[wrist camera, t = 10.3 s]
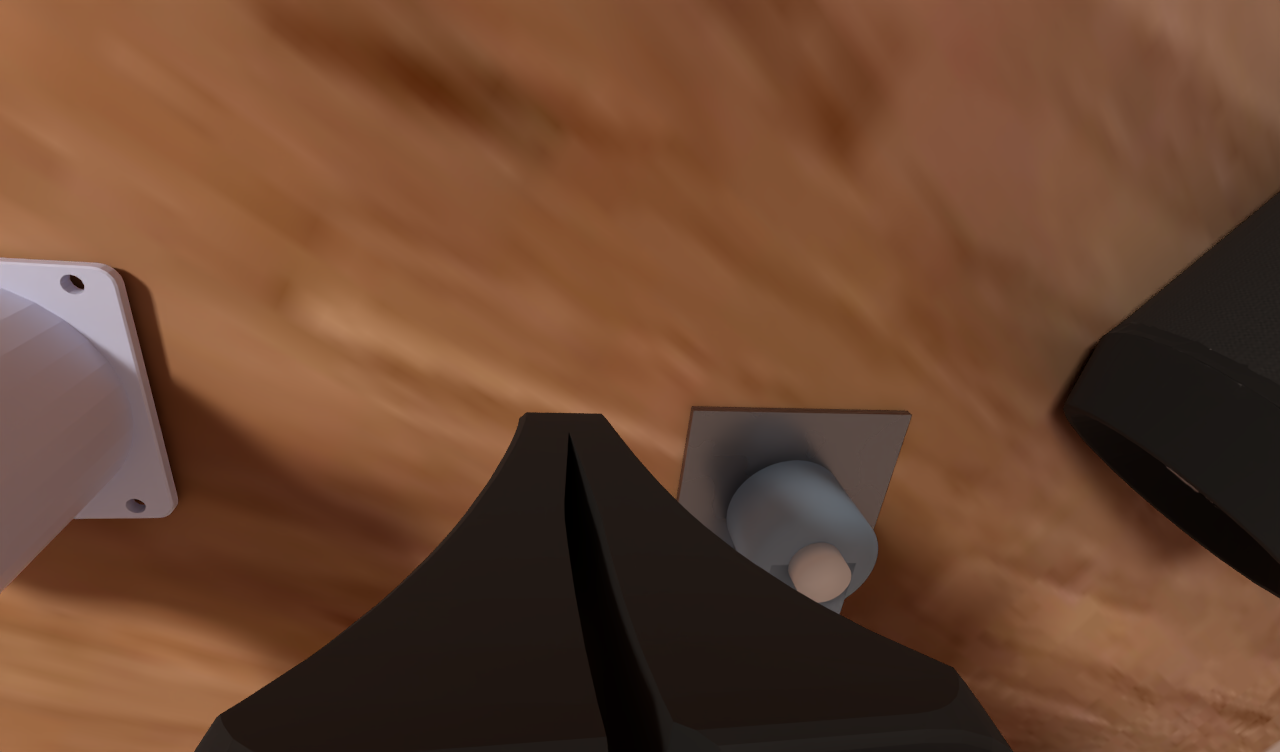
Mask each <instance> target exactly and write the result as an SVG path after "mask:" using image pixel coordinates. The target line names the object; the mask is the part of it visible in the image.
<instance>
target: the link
mask: <svg viewBox="0 0 1280 752" xmlns="http://www.w3.org/2000/svg"><path fill="white" fill-rule="evenodd" d="M726 520H727V528H728V531H729V534H730V536H731V539H732V541H733V543H734V546H735V548H736V551H737V552H739V553H740V554H742V555H743V556H745V557H746V558H747V559H749V560H750V561H752V562H753V563H754V564H756V565H757V566H759V567H761V568H762V569H764V570H765V571H767V572H768V573H770V574H771V575H773V576H774V577H776V578H777V579H779V580H781V581H782V582H784V583H785V584H787V585H788V586H790V587H791V588H793V589H795V590H796V591H798V592H800V593H802V594H803V595H805V596H807V597H809V598H810V599H812V600H814V601H815V602H817V603H819V604H821V605H823V606H824V607H826V608H828V609H830V610H832V611H834V612H836V613H838V614H840V611H841V608H842V605H843V602H844V599H845V598H847V597H848V596H849V595H851V594H852V593H853V592H855V591H856V590H857V589H858V588H859V587H860V586H861V585H862V584H863V583H864V582H865V580H866V579H867V578H868V576H869V575H870V573H871V571H872V570H873V567H874V565H875V563H876V559H877V555H878V542H877V537H876V535H875V533H874V531H873V529H872V528H871V526H870V525H869V523H868V522H867V521H866V519H865V518H864V516H863V515H862V514H861V512H860V511H859V510H858V508H857V507H856V505H855V504H854V503H853V501H852V500H851V498H850V497H849V496H848V494H847V493H846V491H845V490H844V489H843V487H842V486H841V485H840V483H839V482H838V480H837V479H836V478H835V476H834V475H833V474H832V473H831V472H830V471H829V470H827V469H826V468H825V467H823V466H821V465H819V464H816V463H813V462H809V461H802V460H792V461H784V462H780V463H776V464H773V465H770V466H768V467H765V468H764V469H762V470H760V471H758V472H756V473H755V474H753V475H752V476H751V477H749V478H748V479H747V480H746V481H745V482H744V483H743V484H742V485H741V486H740V487H739V488H738V490H737V491H736V492H735V494H734V496H733V497H732V499H731V501H730V504H729V507H728V510H727V517H726Z"/></svg>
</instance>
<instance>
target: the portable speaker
mask: <svg viewBox="0 0 1280 752" xmlns="http://www.w3.org/2000/svg"><path fill="white" fill-rule="evenodd" d="M1063 410H1064V413H1065V416H1066V418H1067V420H1068V421H1069V423H1070V424H1071V425H1072V426H1073V428H1074V429H1075V430H1076V432H1077V433H1078V434H1079V435H1080V437H1081V438H1082V439H1083V440H1084V441H1085V443H1086V444H1087V445H1088V446H1089V447H1090V448H1091V449H1092V450H1093V451H1094V452H1095V453H1096V454H1097V455H1098V456H1099V457H1100V458H1101V459H1102V460H1103V461H1104V462H1105V463H1106V464H1107V465H1108V466H1109V467H1110V468H1111V469H1112V470H1113V471H1114V472H1115V473H1116V474H1117V475H1118V476H1120V477H1121V478H1122V479H1123V480H1124V481H1125V482H1126V483H1127V484H1128V485H1129V486H1130V487H1131V488H1133V489H1134V490H1135V491H1136V492H1137V493H1138V494H1139V495H1140V496H1142V497H1143V498H1144V499H1145V500H1146V501H1147V502H1149V503H1150V504H1151V505H1152V506H1153V507H1154V508H1156V509H1157V510H1158V511H1159V512H1160V513H1162V514H1163V515H1164V516H1165V517H1167V518H1168V519H1169V520H1170V521H1171V522H1173V523H1174V524H1175V525H1176V526H1178V527H1179V528H1180V529H1181V530H1183V531H1184V532H1185V533H1186V534H1187V535H1189V536H1190V537H1191V538H1193V539H1194V540H1195V541H1197V542H1198V543H1199V544H1201V545H1202V546H1203V547H1205V548H1206V549H1207V550H1209V551H1210V552H1211V553H1212V554H1214V555H1215V556H1216V557H1218V558H1219V559H1220V560H1222V561H1223V562H1225V563H1226V564H1228V565H1229V566H1231V567H1232V568H1233V569H1235V570H1236V571H1238V572H1239V573H1241V574H1242V575H1244V576H1245V577H1246V578H1248V579H1249V580H1251V581H1252V582H1254V583H1255V584H1257V585H1259V586H1260V587H1262V588H1264V589H1265V590H1267V591H1269V592H1270V593H1272V594H1273V595H1275V596H1277V597H1278V598H1280V192H1279V193H1278V194H1277V195H1275V196H1274V197H1273V198H1272V199H1271V200H1269V201H1268V202H1267V203H1266V204H1265V205H1263V206H1262V207H1261V208H1260V209H1259V210H1257V211H1256V212H1255V213H1254V214H1253V215H1251V216H1250V217H1249V218H1248V219H1247V220H1245V221H1244V222H1243V223H1242V224H1241V225H1239V226H1238V227H1237V228H1236V229H1235V230H1233V231H1232V232H1231V233H1230V234H1229V235H1227V236H1226V237H1225V238H1224V239H1222V240H1221V241H1220V242H1219V243H1218V244H1216V245H1215V246H1214V247H1213V248H1212V249H1210V250H1209V251H1208V252H1207V253H1206V254H1204V255H1203V256H1202V257H1201V258H1200V259H1198V260H1197V261H1196V262H1195V263H1194V264H1192V265H1191V266H1190V267H1189V268H1188V269H1186V270H1185V271H1184V272H1183V273H1182V274H1180V275H1179V276H1178V277H1177V278H1176V279H1174V280H1173V281H1172V282H1171V283H1170V284H1168V285H1167V286H1166V287H1165V288H1163V289H1162V290H1161V291H1160V292H1159V293H1157V294H1156V295H1155V296H1154V297H1153V298H1151V299H1150V300H1149V301H1148V302H1147V303H1145V304H1144V305H1143V306H1142V307H1141V308H1139V309H1138V310H1137V311H1136V312H1135V313H1133V314H1132V315H1131V316H1130V317H1129V318H1127V319H1126V320H1125V321H1123V322H1122V323H1121V324H1119V325H1118V326H1117V327H1115V328H1114V329H1113V330H1111V331H1110V332H1109V333H1107V334H1106V335H1104V336H1103V337H1102V338H1101V339H1100V341H1099V343H1098V344H1097V346H1096V348H1095V350H1094V352H1093V353H1092V355H1091V357H1090V359H1089V361H1088V362H1087V364H1086V366H1085V368H1084V370H1083V371H1082V373H1081V375H1080V377H1079V378H1078V380H1077V382H1076V384H1075V386H1074V387H1073V389H1072V391H1071V393H1070V395H1069V396H1068V398H1067V400H1066V402H1065V404H1064V408H1063Z"/></svg>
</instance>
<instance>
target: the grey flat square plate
mask: <svg viewBox="0 0 1280 752" xmlns="http://www.w3.org/2000/svg"><path fill="white" fill-rule="evenodd" d="M911 416H912V415H911V414H910V413H909V412H908V411H890V410H841V409H793V408H745V407H696V406H692V407H691V414H690V420H689V426H688V432H687V438H686V444H685V450H684V457H683V463H682V469H681V475H680V481H679V487H678V494H677V501H678V502H679V503H680V504H681V505H682V506H683V507H684V508H685V509H686V510H687V511H688V512H689V513H691V514H692V515H693V516H694V517H695V518H696V519H697V520H699V521H700V522H701V523H702V524H703V525H704V526H706V527H707V528H708V529H709V530H711V531H712V532H713V533H714V534H716V535H717V536H718V537H719V538H721V539H722V540H723V541H725V542H726V543H727V544H728V545H730V546H731V547H732V548H733V549H735V550H736V548H735V546H734V543H733V541H732V539H731V536H730V534H729V531H728V528H727V520H726V517H727V510H728V507H729V504H730V501H731V499H732V497H733V496H734V494H735V492H736V491H737V490H738V488H739V487H740V486H741V485H742V484H743V483H744V482H745V481H746V480H747V479H748V478H749V477H751V476H752V475H753V474H755V473H756V472H758V471H760V470H762V469H764V468H765V467H768V466H770V465H773V464H776V463H780V462H784V461H792V460H802V461H809V462H813V463H816V464H819V465H821V466H823V467H825V468H826V469H827V470H829V471H830V472H831V473H832V474H833V475H834V476H835V478H836V479H837V480H838V482H839V483H840V485H841V486H842V487H843V489H844V490H845V491H846V493H847V494H848V496H849V497H850V498H851V500H852V501H853V503H854V504H855V505H856V507H857V508H858V510H859V511H860V512H861V514H862V515H863V516H864V518H865V519H866V521H867V522H868V523H869V525H870V526H871V528H872V529H873V530H874V527H875V524H876V521H877V518H878V515H879V512H880V509H881V506H882V503H883V500H884V497H885V494H886V491H887V488H888V485H889V482H890V479H891V476H892V473H893V470H894V467H895V464H896V461H897V458H898V455H899V452H900V449H901V446H902V443H903V440H904V437H905V434H906V431H907V428H908V425H909V422H910V419H911Z"/></svg>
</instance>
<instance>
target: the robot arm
mask: <svg viewBox="0 0 1280 752" xmlns="http://www.w3.org/2000/svg"><path fill="white" fill-rule="evenodd" d="M70 275H74V276H76V277H78V278H79V279H81V280H82V282H83V284H84V289H80V288H78V287H76V286H75V285H73V283H72V282H71V280H70ZM134 499H138V500H140V501H142V502H143V503H144V504H145V505H142V504H138V503H137V502H135V501H134ZM177 505H178V496H177V492H176V488H175V484H174V480H173V476H172V472H171V468H170V464H169V460H168V456H167V452H166V448H165V444H164V440H163V436H162V432H161V428H160V424H159V420H158V416H157V412H156V408H155V404H154V400H153V396H152V392H151V388H150V384H149V380H148V376H147V372H146V368H145V364H144V360H143V356H142V352H141V348H140V344H139V340H138V336H137V332H136V328H135V324H134V320H133V316H132V312H131V308H130V304H129V300H128V296H127V292H126V288H125V284H124V281H123V279H122V277H121V275H120V274H119V273H118V272H117V271H116V270H115V269H113V268H112V267H110V266H108V265H105V264H101V263H92V262H73V261H55V260H36V259H17V258H0V593H1V592H2V591H3V590H4V589H5V588H6V587H7V586H8V585H9V584H10V583H11V582H12V581H13V580H14V579H15V578H16V577H17V576H18V575H19V574H20V573H21V572H22V571H23V570H24V569H25V568H26V567H27V565H28V564H29V563H30V562H31V561H32V560H33V559H34V558H35V557H36V556H37V555H38V554H39V553H40V552H41V551H42V550H43V549H44V548H45V547H46V546H47V545H48V544H49V543H50V542H51V541H52V540H53V539H54V538H55V537H56V536H57V535H58V534H59V533H60V532H61V531H62V530H63V529H64V528H65V527H66V526H67V524H68V523H69V522H70V521H71V520H72V519H114V518H162V517H166V516H168V515H170V514H171V513H172V511H173V510H174V509H175V508H176V506H177ZM194 752H1013V751H1012V749H1011V748H1010V746H1009V745H1008V743H1007V742H1006V740H1005V739H1004V738H1003V736H1002V735H1001V733H1000V732H999V730H998V729H997V727H996V726H995V724H994V723H993V721H992V720H991V719H990V717H989V716H988V714H987V713H986V711H985V710H984V708H983V707H982V705H981V704H980V703H979V701H978V700H977V698H976V697H975V696H974V694H973V693H972V692H971V690H970V689H969V687H968V686H967V685H966V683H965V682H964V681H963V679H962V678H961V677H960V676H959V674H958V673H957V672H956V670H955V669H954V668H953V667H950V666H948V665H946V664H944V663H942V662H939V661H937V660H935V659H933V658H930V657H928V656H926V655H924V654H921V653H919V652H917V651H915V650H912V649H910V648H908V647H906V646H904V645H901V644H899V643H897V642H895V641H892V640H890V639H888V638H886V637H883V636H881V635H879V634H877V633H874V632H872V631H870V630H868V629H866V628H864V627H862V626H860V625H858V624H856V623H854V622H853V621H851V620H849V619H847V618H845V617H843V616H841V615H839V614H838V613H836V612H834V611H832V610H830V609H828V608H826V607H824V606H823V605H821V604H819V603H817V602H815V601H814V600H812V599H810V598H809V597H807V596H805V595H803V594H802V593H800V592H798V591H796V590H795V589H793V588H791V587H790V586H788V585H787V584H785V583H784V582H782V581H781V580H779V579H777V578H776V577H774V576H773V575H771V574H770V573H768V572H767V571H765V570H764V569H762V568H761V567H759V566H757V565H756V564H754V563H753V562H752V561H750V560H749V559H747V558H746V557H745V556H743V555H742V554H740V553H739V552H737V551H736V550H735V549H733V548H732V547H731V546H730V545H728V544H727V543H726V542H725V541H723V540H722V539H721V538H719V537H718V536H717V535H716V534H714V533H713V532H712V531H711V530H709V529H708V528H707V527H706V526H704V525H703V524H702V523H701V522H700V521H699V520H697V519H696V518H695V517H694V516H693V515H692V514H691V513H689V512H688V511H687V510H686V509H685V508H684V507H683V506H682V505H681V504H680V503H679V502H678V501H677V500H676V499H675V498H674V497H673V496H672V495H671V494H670V493H669V492H668V491H667V490H666V489H665V488H664V487H663V486H662V485H661V484H660V483H659V482H658V481H657V480H656V479H655V477H654V476H653V475H652V474H651V473H650V472H649V471H648V470H647V469H646V467H645V466H644V465H643V464H642V463H641V462H640V461H639V459H638V458H637V457H636V456H635V455H634V453H633V452H632V451H631V450H630V449H629V447H628V446H627V445H626V444H625V442H624V441H623V440H622V439H621V437H620V436H619V435H618V433H617V432H616V431H615V430H614V428H613V427H612V426H611V424H610V423H609V422H608V420H607V419H606V418H605V417H604V416H603V415H602V414H584V413H529V412H527V413H525V414H524V415H523V416H522V417H521V418H519V423H518V427H517V430H516V432H515V435H514V437H513V439H512V441H511V443H510V445H509V447H508V449H507V451H506V453H505V455H504V457H503V459H502V460H501V462H500V464H499V465H498V467H497V469H496V470H495V472H494V474H493V475H492V477H491V479H490V480H489V482H488V483H487V485H486V486H485V487H484V489H483V490H482V492H481V493H480V494H479V496H478V497H477V498H476V500H475V501H474V503H473V504H472V505H471V507H470V508H469V509H468V511H467V512H466V514H465V515H464V516H463V517H462V519H461V520H460V521H459V522H458V524H457V525H456V526H455V527H454V528H453V530H452V531H451V532H450V533H449V534H448V535H447V537H446V538H445V539H444V540H443V541H442V542H441V543H440V544H439V545H438V546H437V548H436V549H435V550H434V551H433V552H432V553H431V554H430V555H429V556H428V557H427V558H426V559H425V560H424V561H423V562H422V563H421V564H420V565H419V566H418V567H417V568H416V569H415V570H414V571H413V572H412V573H411V574H410V575H409V576H408V577H407V578H406V579H405V580H404V581H403V582H402V583H401V584H400V585H399V586H397V587H396V588H395V589H394V590H393V591H392V592H391V593H390V594H389V595H387V596H386V597H385V598H384V599H383V600H382V601H381V602H379V603H378V604H377V605H376V606H375V607H373V608H372V609H371V610H370V611H368V612H367V613H366V614H365V615H363V616H362V617H361V618H360V619H358V620H357V621H356V622H355V623H353V624H352V625H351V626H350V627H348V628H347V629H346V630H345V631H343V632H342V633H341V634H339V635H338V636H337V637H336V638H334V639H333V640H332V641H331V642H329V643H328V644H327V645H326V646H324V647H323V648H321V649H320V650H319V651H317V652H316V653H315V654H313V655H312V656H310V657H309V658H308V659H306V660H305V661H303V662H301V663H300V664H298V665H297V666H295V667H294V668H292V669H291V670H289V671H288V672H286V673H285V674H283V675H281V676H280V677H278V678H277V679H275V680H274V681H272V682H271V683H269V684H268V685H266V686H265V687H263V688H261V689H260V690H258V691H257V692H255V693H254V694H252V695H251V696H249V697H248V698H246V699H245V700H243V701H241V702H240V703H238V704H237V705H235V706H233V707H232V708H230V709H228V710H227V711H225V712H223V713H222V714H220V715H219V716H218V717H217V718H216V719H215V721H214V722H213V724H212V725H211V727H210V728H209V730H208V731H207V733H206V734H205V736H204V737H203V739H202V740H201V742H200V743H199V745H198V747H197V748H196V750H195V751H194Z"/></svg>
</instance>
